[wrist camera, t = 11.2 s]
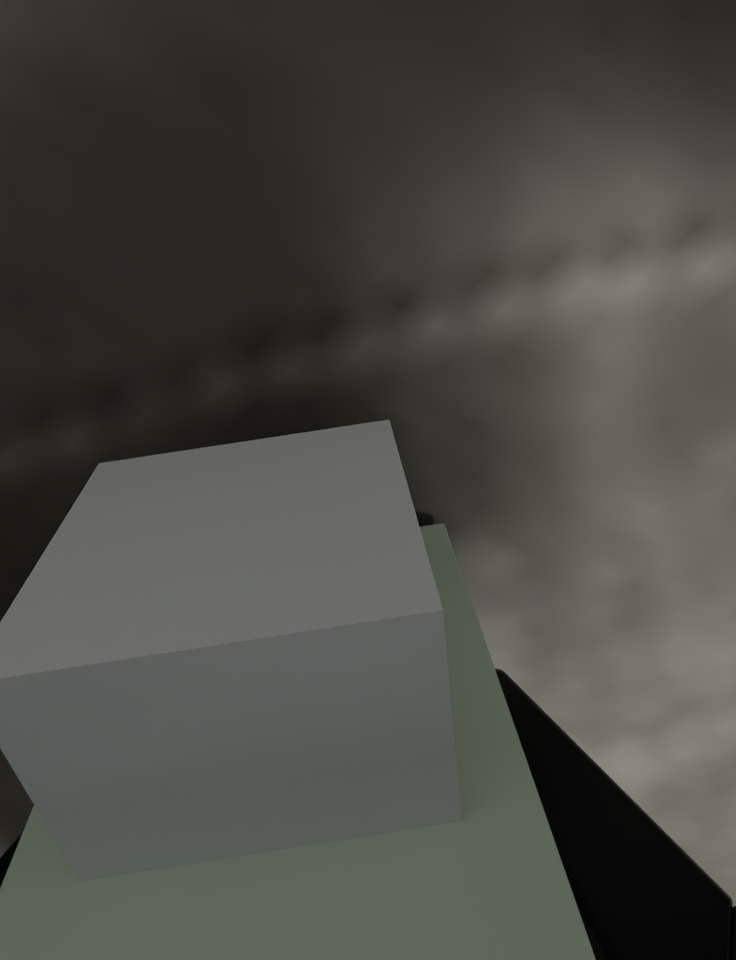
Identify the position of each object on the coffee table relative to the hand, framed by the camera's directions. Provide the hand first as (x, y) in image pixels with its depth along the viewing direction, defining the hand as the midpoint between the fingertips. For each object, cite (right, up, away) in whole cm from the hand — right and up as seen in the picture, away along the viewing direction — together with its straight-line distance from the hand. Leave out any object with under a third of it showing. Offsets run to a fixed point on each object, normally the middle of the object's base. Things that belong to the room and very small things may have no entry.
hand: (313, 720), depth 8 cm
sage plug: (0, 0, +1) cm, 2 cm away
